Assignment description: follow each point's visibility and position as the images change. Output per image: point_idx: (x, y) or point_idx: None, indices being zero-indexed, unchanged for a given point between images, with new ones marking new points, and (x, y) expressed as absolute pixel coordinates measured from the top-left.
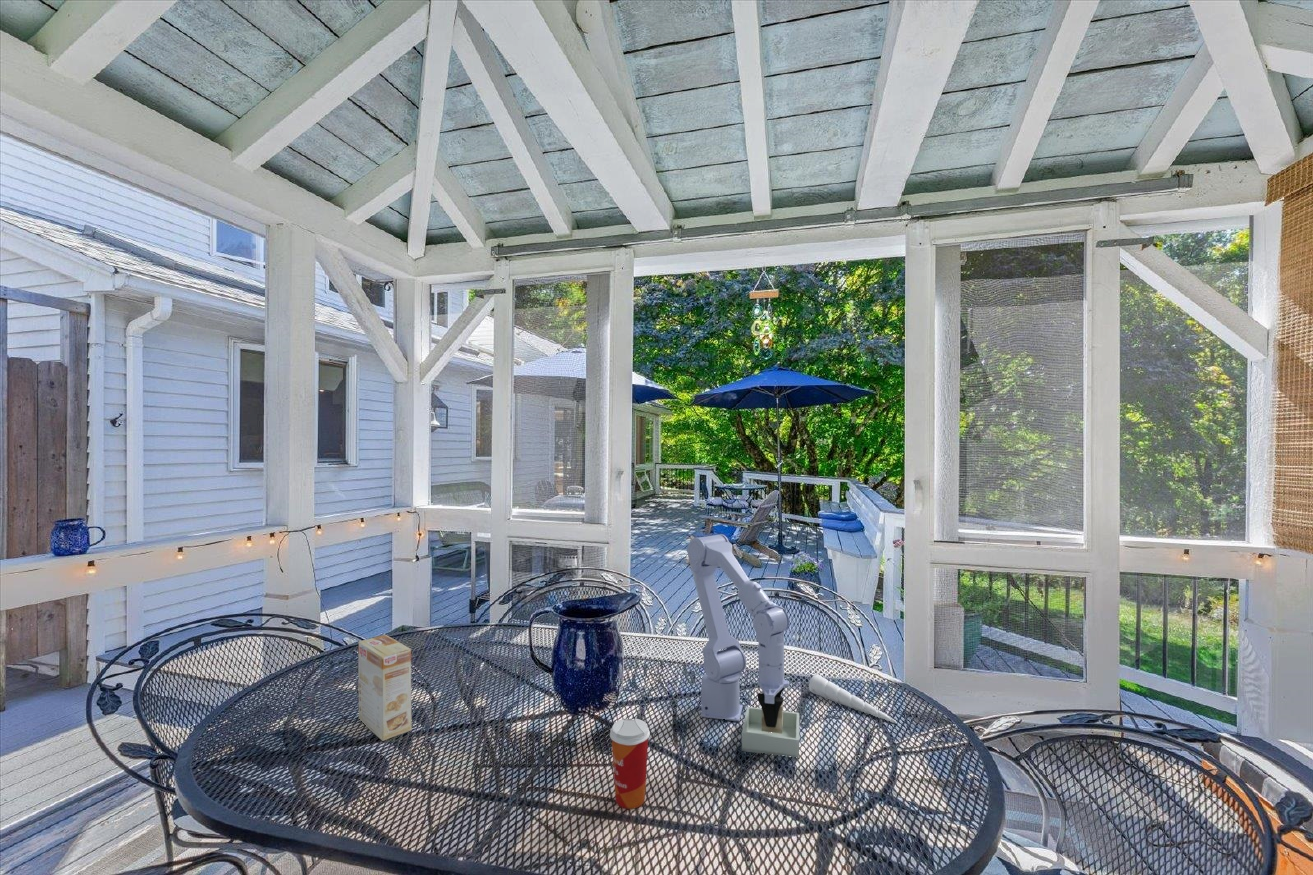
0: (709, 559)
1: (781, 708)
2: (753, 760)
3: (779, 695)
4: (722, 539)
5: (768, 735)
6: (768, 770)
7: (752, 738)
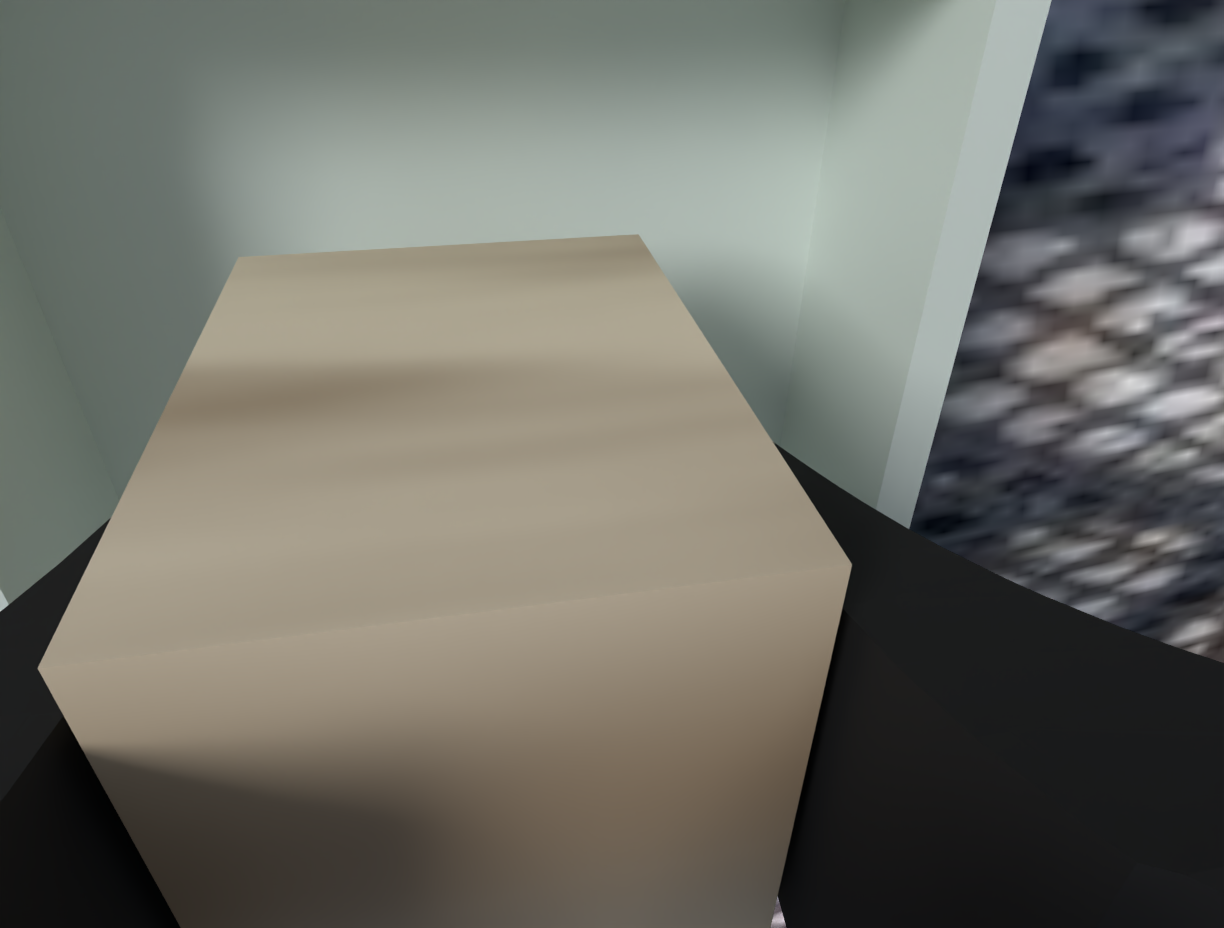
0: None
1: (823, 542)
2: (933, 448)
3: (25, 821)
4: None
5: (907, 449)
6: (1118, 280)
7: None
